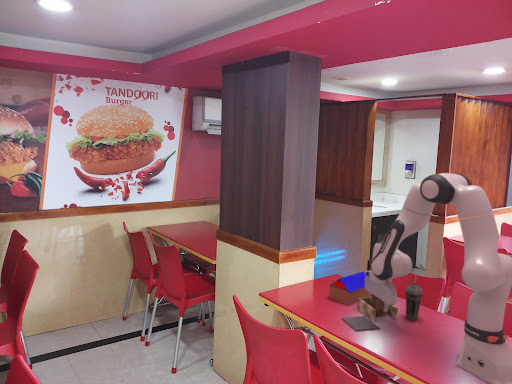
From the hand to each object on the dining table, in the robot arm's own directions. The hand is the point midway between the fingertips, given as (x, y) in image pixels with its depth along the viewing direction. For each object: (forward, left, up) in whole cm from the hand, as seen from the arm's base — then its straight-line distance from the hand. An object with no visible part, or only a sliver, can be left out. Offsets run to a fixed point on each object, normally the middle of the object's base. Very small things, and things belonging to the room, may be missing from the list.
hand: (378, 307), depth 185 cm
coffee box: (+26, -15, -4) cm, 30 cm away
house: (+22, +2, -4) cm, 22 cm away
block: (0, 0, -4) cm, 4 cm away
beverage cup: (-6, -13, -4) cm, 15 cm away
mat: (-7, +13, -4) cm, 15 cm away
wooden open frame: (+2, 0, -4) cm, 4 cm away
